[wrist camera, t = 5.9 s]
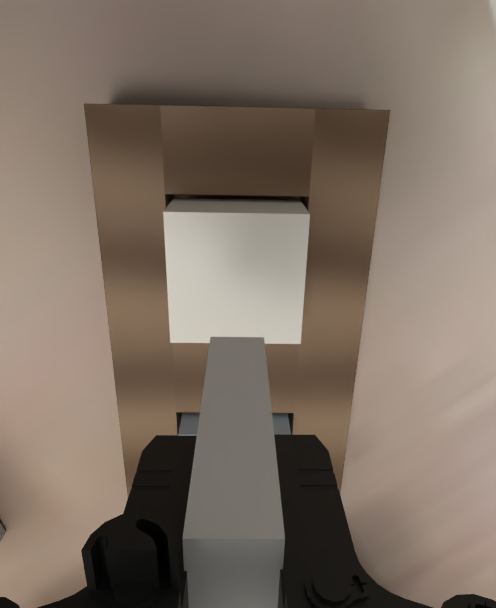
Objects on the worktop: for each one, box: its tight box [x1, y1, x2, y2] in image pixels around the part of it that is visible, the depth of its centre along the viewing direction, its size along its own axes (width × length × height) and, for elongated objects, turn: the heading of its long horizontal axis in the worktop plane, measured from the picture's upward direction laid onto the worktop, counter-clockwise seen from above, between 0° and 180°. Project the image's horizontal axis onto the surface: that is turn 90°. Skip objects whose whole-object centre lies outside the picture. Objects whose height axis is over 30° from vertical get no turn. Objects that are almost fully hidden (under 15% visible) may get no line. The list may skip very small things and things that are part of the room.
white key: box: [163, 198, 310, 344], centre depth 21 cm, size 6×6×3 cm
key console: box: [84, 104, 390, 497], centre depth 26 cm, size 26×13×4 cm, turn 179°
